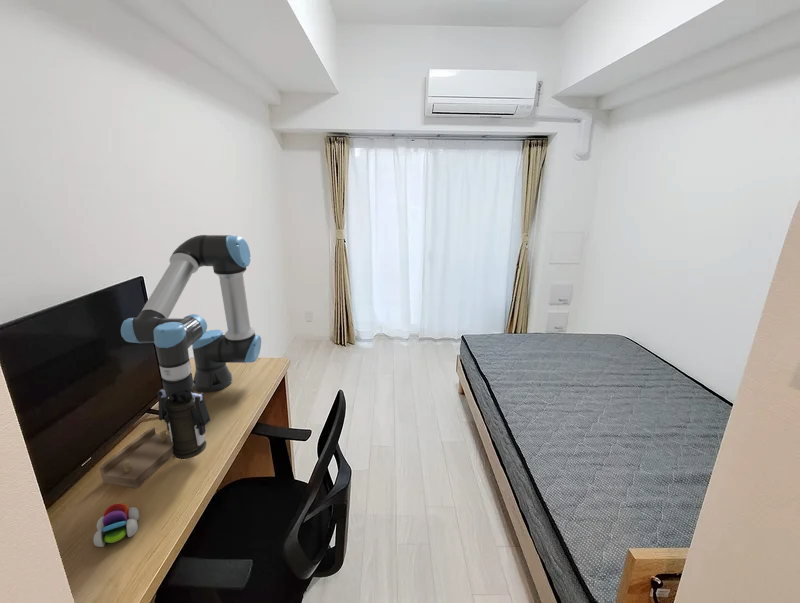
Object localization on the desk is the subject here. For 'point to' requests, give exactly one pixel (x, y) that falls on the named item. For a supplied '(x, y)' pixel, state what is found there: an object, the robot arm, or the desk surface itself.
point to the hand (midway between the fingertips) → (188, 440)
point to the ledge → (138, 459)
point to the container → (183, 429)
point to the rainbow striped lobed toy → (116, 524)
